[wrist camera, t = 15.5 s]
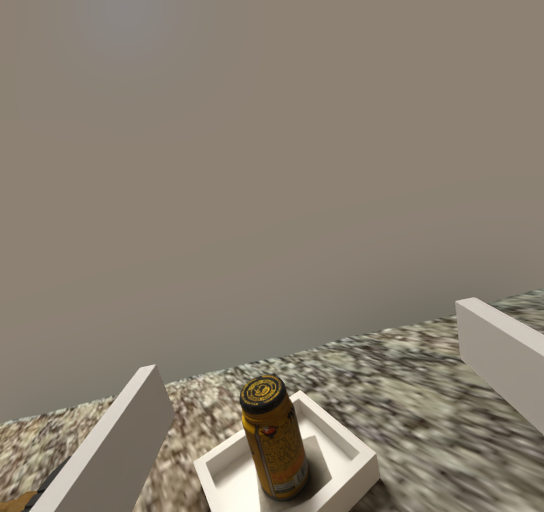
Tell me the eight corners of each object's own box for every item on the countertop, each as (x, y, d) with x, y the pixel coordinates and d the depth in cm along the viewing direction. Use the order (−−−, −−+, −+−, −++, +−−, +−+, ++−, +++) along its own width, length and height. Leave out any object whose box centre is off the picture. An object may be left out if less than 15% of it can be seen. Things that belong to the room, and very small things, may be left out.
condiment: (254, 457, 36) (231, 379, 33) (315, 436, 37) (297, 358, 34) (261, 520, 28) (233, 426, 26) (337, 491, 30) (316, 398, 27)
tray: (304, 409, 43) (300, 390, 42) (380, 478, 31) (376, 453, 30) (201, 483, 35) (193, 462, 34) (249, 616, 23) (238, 587, 22)
